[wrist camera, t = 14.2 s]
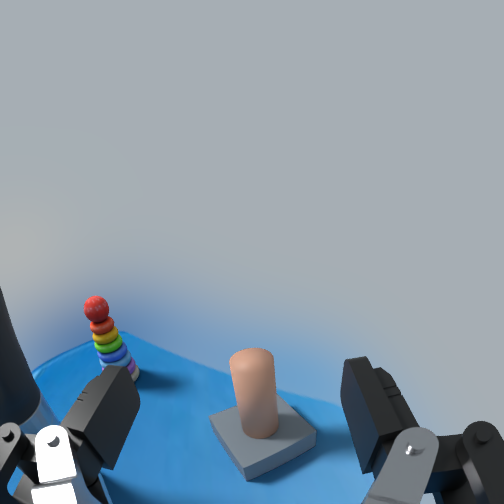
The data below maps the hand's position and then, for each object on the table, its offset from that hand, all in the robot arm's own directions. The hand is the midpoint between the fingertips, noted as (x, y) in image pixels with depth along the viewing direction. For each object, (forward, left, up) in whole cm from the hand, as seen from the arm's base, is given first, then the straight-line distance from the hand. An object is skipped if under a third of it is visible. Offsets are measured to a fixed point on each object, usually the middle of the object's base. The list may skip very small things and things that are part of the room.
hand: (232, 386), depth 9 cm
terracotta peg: (+8, +16, -25) cm, 31 cm away
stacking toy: (-9, +44, -29) cm, 53 cm away
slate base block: (+8, +16, -29) cm, 34 cm away
